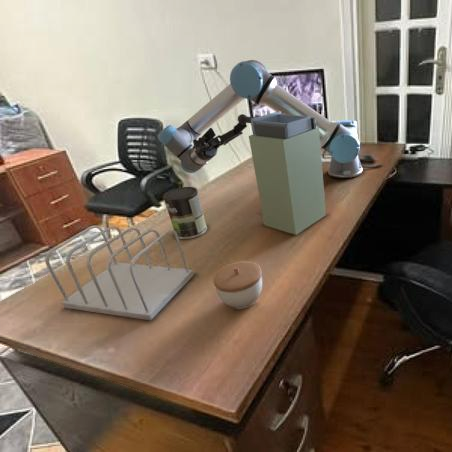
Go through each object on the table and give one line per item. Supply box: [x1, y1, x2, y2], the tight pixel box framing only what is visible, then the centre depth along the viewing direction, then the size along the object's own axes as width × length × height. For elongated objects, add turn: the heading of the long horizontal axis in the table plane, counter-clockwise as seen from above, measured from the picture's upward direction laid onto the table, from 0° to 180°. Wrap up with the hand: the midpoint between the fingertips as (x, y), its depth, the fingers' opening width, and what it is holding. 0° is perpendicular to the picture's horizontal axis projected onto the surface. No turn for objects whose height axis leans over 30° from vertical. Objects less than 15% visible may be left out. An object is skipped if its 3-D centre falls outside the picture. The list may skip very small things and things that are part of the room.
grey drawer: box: [237, 111, 312, 138], centre depth 108 cm, size 26×12×4 cm, turn 54°
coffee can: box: [162, 186, 208, 240], centre depth 114 cm, size 10×10×14 cm
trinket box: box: [213, 260, 263, 310], centre depth 81 cm, size 11×11×9 cm
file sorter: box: [44, 225, 195, 321], centre depth 86 cm, size 25×17×16 cm
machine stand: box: [248, 117, 327, 236], centre depth 112 cm, size 14×16×33 cm
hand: (229, 127), depth 119 cm, fingers open, 13 cm apart
